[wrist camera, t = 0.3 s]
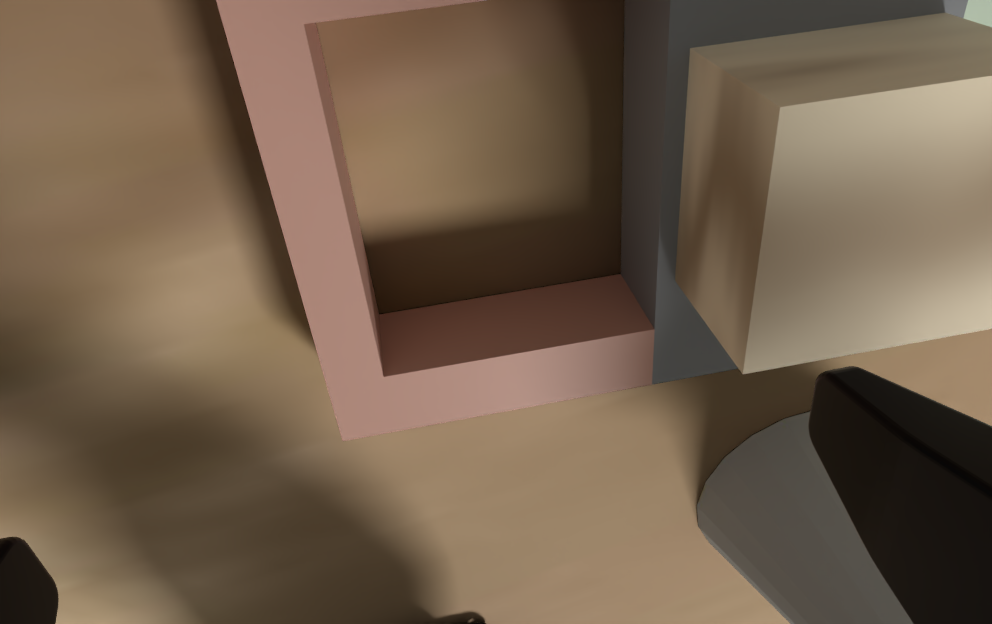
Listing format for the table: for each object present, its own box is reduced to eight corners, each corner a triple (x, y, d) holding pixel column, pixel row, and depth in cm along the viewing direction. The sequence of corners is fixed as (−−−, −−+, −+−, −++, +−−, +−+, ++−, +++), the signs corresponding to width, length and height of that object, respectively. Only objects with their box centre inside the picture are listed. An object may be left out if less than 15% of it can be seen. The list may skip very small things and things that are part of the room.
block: (886, 244, 20) (993, 328, 16) (674, 280, 19) (742, 374, 16) (945, 12, 16) (1095, 59, 13) (690, 48, 16) (780, 106, 13)
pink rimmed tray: (1296, 207, 26) (1395, 248, 23) (342, 374, 23) (342, 441, 20) (1572, -251, 19) (1760, -262, 16) (216, -98, 15) (191, -82, 13)
